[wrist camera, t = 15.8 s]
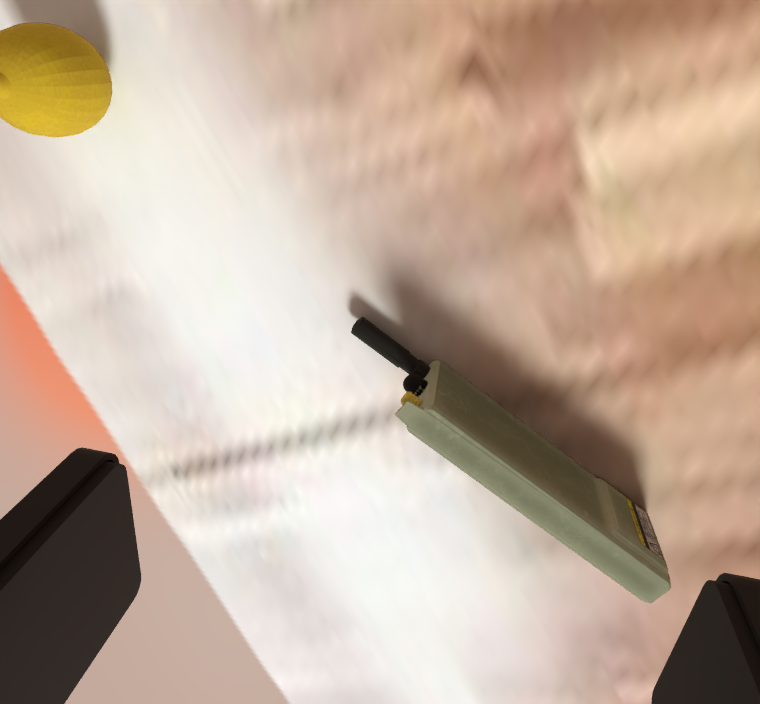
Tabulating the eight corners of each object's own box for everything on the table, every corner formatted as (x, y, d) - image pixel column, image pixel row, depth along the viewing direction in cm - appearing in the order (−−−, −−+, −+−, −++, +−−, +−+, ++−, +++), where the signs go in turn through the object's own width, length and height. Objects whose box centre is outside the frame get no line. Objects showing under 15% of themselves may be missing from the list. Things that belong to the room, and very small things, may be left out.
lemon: (147, 51, 34) (55, 52, 27) (128, 143, 37) (39, 166, 30) (57, 7, 34) (-58, -3, 27) (45, 103, 37) (-63, 116, 30)
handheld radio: (619, 537, 44) (344, 334, 40) (654, 511, 43) (372, 298, 39) (640, 611, 38) (319, 380, 34) (682, 583, 37) (352, 339, 33)
